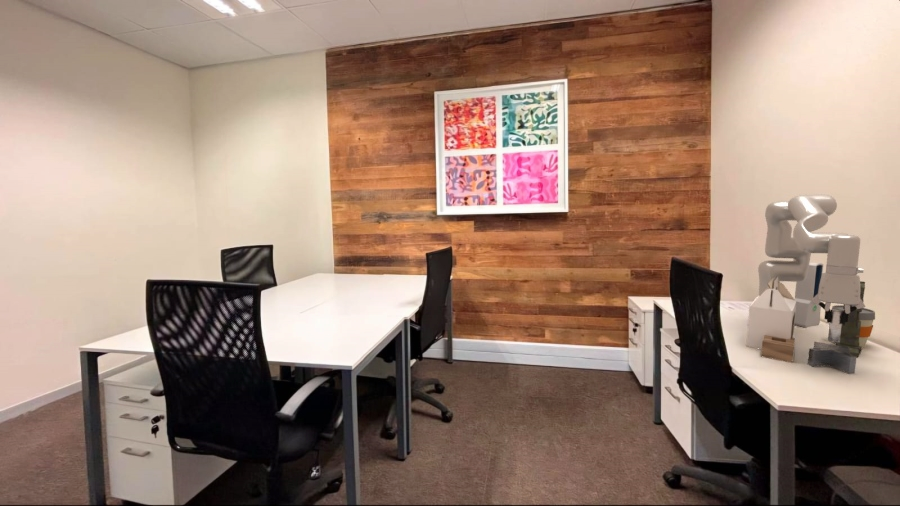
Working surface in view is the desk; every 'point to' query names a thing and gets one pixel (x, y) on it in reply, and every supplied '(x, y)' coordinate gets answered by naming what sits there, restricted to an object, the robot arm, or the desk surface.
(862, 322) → the reusable coffee cup
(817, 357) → the v block
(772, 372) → the desk surface
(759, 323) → the gable box
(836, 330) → the axle
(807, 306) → the electronic device
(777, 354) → the beam
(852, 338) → the mechanical leg
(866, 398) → the desk surface
